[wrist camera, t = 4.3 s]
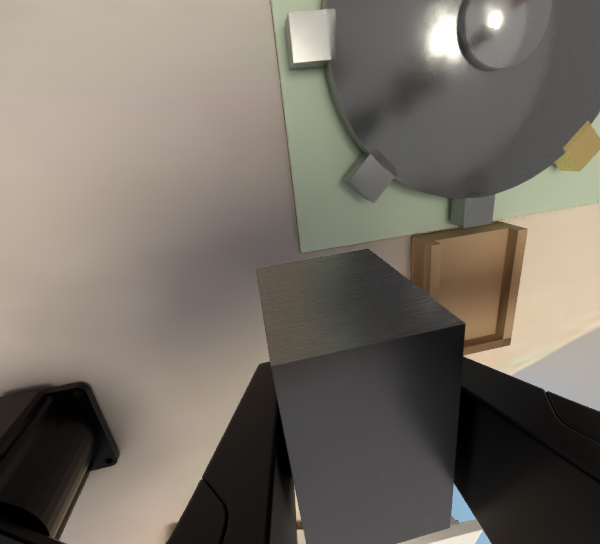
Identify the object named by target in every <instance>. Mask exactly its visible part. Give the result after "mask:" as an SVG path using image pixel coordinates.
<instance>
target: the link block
mask: <svg viewBox="0 0 600 544" xmlns="http://www.w3.org/2000/svg"><path fill="white" fill-rule="evenodd" d="M256 271H257V277H258V284H259V291H260V297H261V304H262V311H263V317H264V324H265V331H266V337H267V344H268V351H269V357H270V364H271V370H272V375H273V380H274V385H275V390H276V395H277V400H278V405H279V410H280V415H281V420H282V425H283V430H284V435H285V440H286V445H287V450H288V455H289V460H290V465H291V470H292V475H293V480H294V485H295V490H296V496H297V501H298V506H299V511H300V516H301V521H302V526H303V531H304V536H305V541H306V544H398V543H401V542H405V541H408V540H411V539H415V538H418V537H421V536H425V535H428V534H431V533H435V532H438V531H441V530H445V529H448V528H450V522H451V509H452V496H453V482H454V469H455V456H456V443H457V430H458V417H459V404H460V391H461V378H462V365H463V352H464V339H465V326H466V323H464V322H463V321H462V320H460V319H459V318H458V317H456V316H455V315H454V314H453V313H451V312H450V311H449V310H447V309H446V308H445V307H443V306H442V305H441V304H440V303H438V302H437V301H436V300H434V299H433V298H432V297H430V296H429V295H428V294H426V293H425V292H424V291H423V290H421V289H420V288H419V287H417V286H416V285H415V284H413V283H412V282H411V281H410V280H408V279H407V278H406V277H404V276H403V275H402V274H400V273H399V272H398V271H396V270H395V269H394V268H393V267H391V266H390V265H389V264H387V263H386V262H385V261H383V260H382V259H381V258H380V257H378V256H377V255H376V254H374V253H373V252H372V251H370V250H369V249H364V250H359V251H353V252H348V253H342V254H337V255H331V256H326V257H320V258H315V259H309V260H304V261H298V262H293V263H288V264H282V265H277V266H271V267H266V268H260V269H256Z"/></svg>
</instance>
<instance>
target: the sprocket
mask: <svg viewBox="0 0 600 544" xmlns="http://www.w3.org/2000/svg"><path fill="white" fill-rule="evenodd" d="M285 32H286V41H287V51H288V60H289V69H300V68H310V67H321V66H324V69H325V74H326V78H327V82H328V86H329V90H330V94H331V97H332V99H333V102H334V105H335V107H336V110H337V113H338V115H339V117H340V119H341V121H342V123H343V125H344V127H345V129H346V131H347V133H348V135H349V136H350V137H351V139H352V140H353V142H354V143H355V145H356V146H357V148H358V149H359V150H360V152H361V153H362V154H361V155H360V156H359V158H358V159H357V160H356V162H355V163H354V164H353V166H352V167H351V168H350V169H349V171H348V172H347V173H346V175H345V176H344V177H343V179H342V180H343V181H345V182H346V183H347V184H348V185H349V186H350V187H351V188H353V189H354V190H355V191H356V192H357V193H358V194H360V195H361V196H362V197H363V198H364V199H365V200H367V201H370V202H373V203H375V201H376V200H377V199H378V198H379V196H380V195H381V194H382V193H383V191H384V190H385V189H386V188H387V186H388V185H389V184H390V183H391V181H392V180H394V181H396V182H397V183H399V184H401V185H403V186H405V187H408V188H410V189H413V190H415V191H418V192H423V193H427V194H431V195H436V196H440V197H445V198H452V206H451V223H450V224H453V225H456V226H458V227H461V228H468V227H473V226H479V225H485V224H491V223H492V220H493V211H494V202H495V194H497V193H500V192H503V191H506V190H508V189H511V188H514V187H516V186H518V185H520V184H522V183H524V182H526V181H528V180H530V179H532V178H533V177H535V176H536V175H538V174H539V173H541V172H542V171H544V170H545V169H547V168H548V167H549V166H550V165H552V164H553V163H555V164H556V165H557V167H558V168H559V169H560V170H561V171H577V172H580V171H581V170H582V169H583V168H584V167H585V166H586V164H587V163H588V162H589V161H590V160H591V159H592V158H593V157H594V156H595V155H596V154H597V153H598V151H599V150H600V137H599V136H598V134H597V133H596V131H595V130H594V128H593V127H592V125H591V124H592V122H593V121H594V120H595V118H596V117H597V115H598V114H599V112H600V0H322V5H321V10H309V11H295V12H288V14H287V17H286V20H285Z"/></svg>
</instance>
